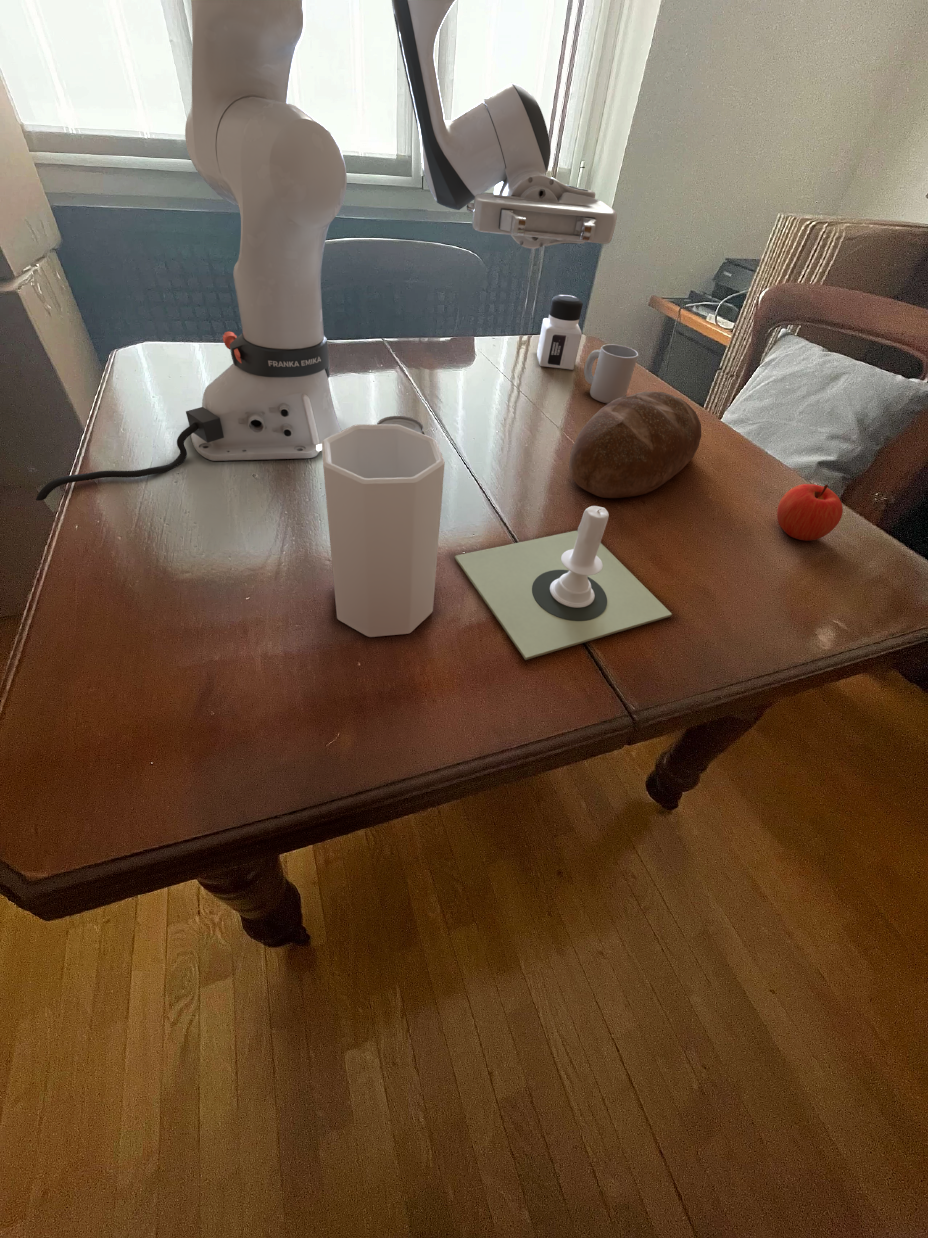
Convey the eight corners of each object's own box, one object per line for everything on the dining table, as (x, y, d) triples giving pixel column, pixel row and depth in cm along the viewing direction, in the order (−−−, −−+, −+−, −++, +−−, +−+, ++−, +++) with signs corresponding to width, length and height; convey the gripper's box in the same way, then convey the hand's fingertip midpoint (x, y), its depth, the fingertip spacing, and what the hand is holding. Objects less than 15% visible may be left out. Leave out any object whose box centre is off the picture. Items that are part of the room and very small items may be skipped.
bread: (542, 476, 85) (558, 404, 77) (631, 425, 102) (652, 362, 94) (630, 520, 78) (657, 446, 70) (709, 458, 96) (739, 393, 88)
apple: (773, 511, 84) (801, 464, 79) (828, 532, 82) (860, 484, 76) (761, 533, 79) (789, 484, 74) (819, 556, 77) (853, 507, 71)
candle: (603, 599, 64) (635, 513, 56) (570, 614, 62) (598, 526, 54) (573, 573, 67) (599, 488, 59) (540, 586, 65) (563, 499, 57)
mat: (525, 660, 57) (526, 657, 57) (454, 558, 68) (455, 554, 68) (671, 616, 64) (672, 613, 64) (585, 530, 75) (586, 527, 75)
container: (573, 370, 120) (589, 304, 111) (539, 366, 120) (551, 300, 111) (569, 357, 126) (583, 294, 117) (536, 354, 125) (548, 290, 116)
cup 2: (614, 407, 107) (628, 360, 101) (571, 391, 111) (581, 344, 105) (630, 398, 112) (644, 352, 105) (588, 382, 116) (599, 337, 109)
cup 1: (420, 648, 57) (430, 493, 44) (317, 627, 57) (297, 468, 44) (442, 581, 65) (456, 433, 52) (351, 563, 65) (342, 413, 52)
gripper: (467, 176, 78) (479, 191, 68) (603, 191, 81) (634, 207, 71) (462, 230, 82) (474, 251, 72) (592, 242, 85) (620, 264, 75)
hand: (554, 229), depth 72 cm, fingers open, 8 cm apart
